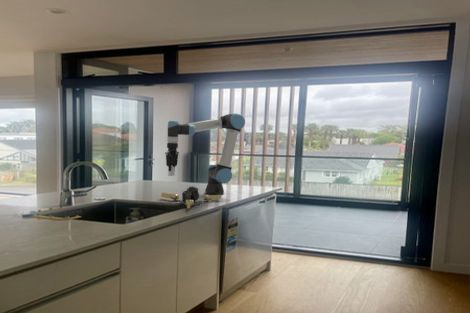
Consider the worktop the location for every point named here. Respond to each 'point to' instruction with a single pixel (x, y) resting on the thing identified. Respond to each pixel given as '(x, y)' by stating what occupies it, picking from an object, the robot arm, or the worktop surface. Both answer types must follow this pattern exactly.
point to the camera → (190, 194)
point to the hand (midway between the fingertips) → (171, 175)
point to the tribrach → (198, 202)
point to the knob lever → (170, 196)
